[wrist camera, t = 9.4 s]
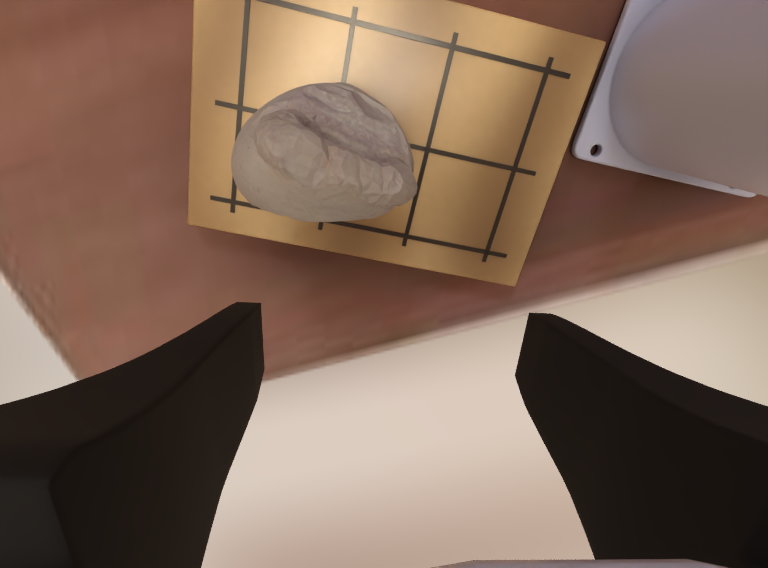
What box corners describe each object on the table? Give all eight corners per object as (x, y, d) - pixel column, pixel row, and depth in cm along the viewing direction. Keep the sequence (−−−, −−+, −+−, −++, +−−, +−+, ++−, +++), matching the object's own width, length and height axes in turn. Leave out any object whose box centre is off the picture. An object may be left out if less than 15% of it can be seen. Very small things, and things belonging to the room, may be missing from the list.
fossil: (270, 176, 19) (175, 257, 10) (255, 89, 17) (127, 87, 8) (402, 167, 19) (433, 240, 10) (399, 79, 17) (430, 67, 8)
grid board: (595, 44, 18) (608, 41, 17) (509, 279, 22) (515, 288, 21) (204, -60, 16) (194, -69, 15) (194, 218, 21) (185, 225, 20)
